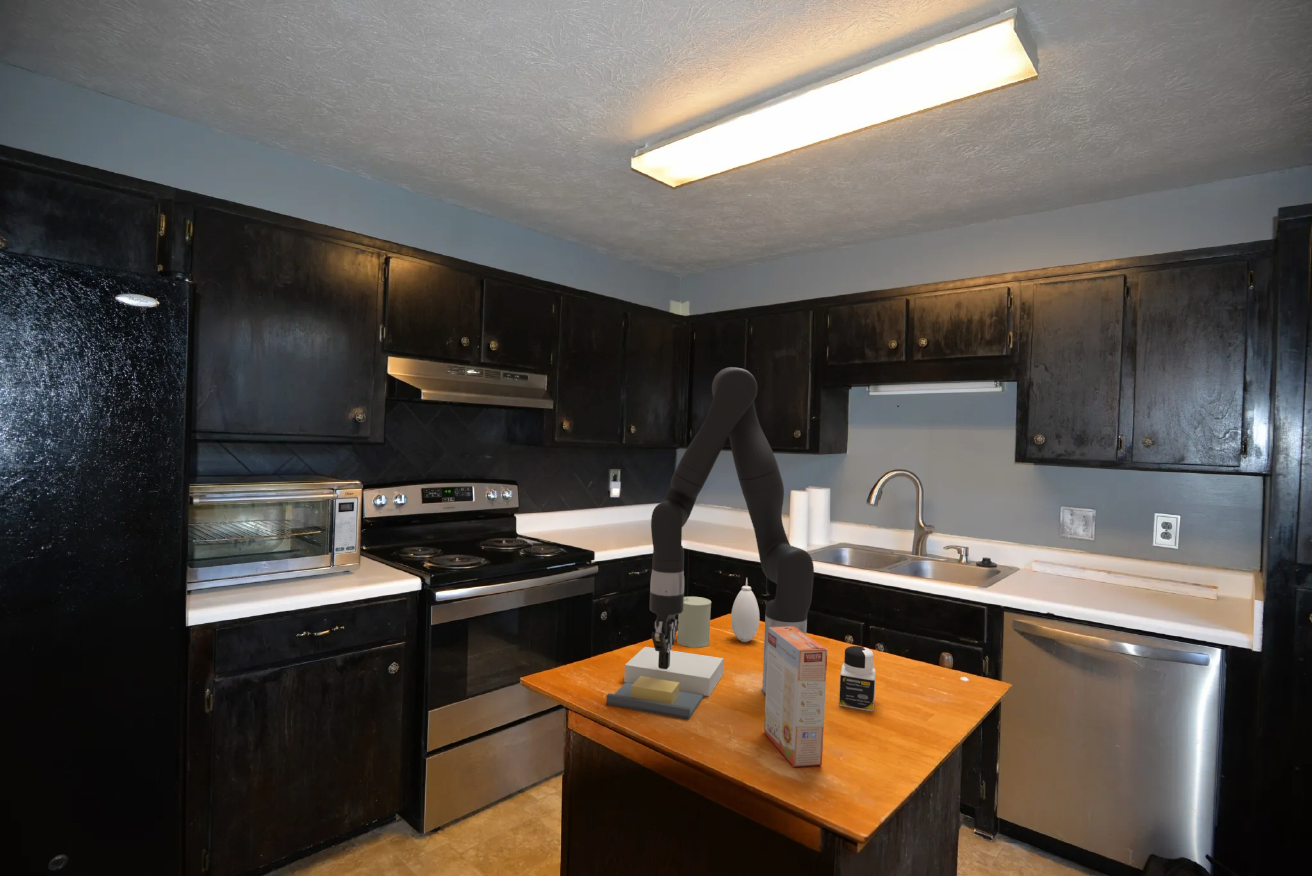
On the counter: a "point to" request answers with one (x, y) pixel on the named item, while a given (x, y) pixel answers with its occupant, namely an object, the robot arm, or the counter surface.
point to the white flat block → (677, 670)
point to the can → (694, 622)
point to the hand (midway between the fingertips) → (663, 667)
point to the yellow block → (655, 690)
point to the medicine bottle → (857, 679)
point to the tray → (656, 703)
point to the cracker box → (795, 695)
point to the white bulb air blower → (745, 615)
